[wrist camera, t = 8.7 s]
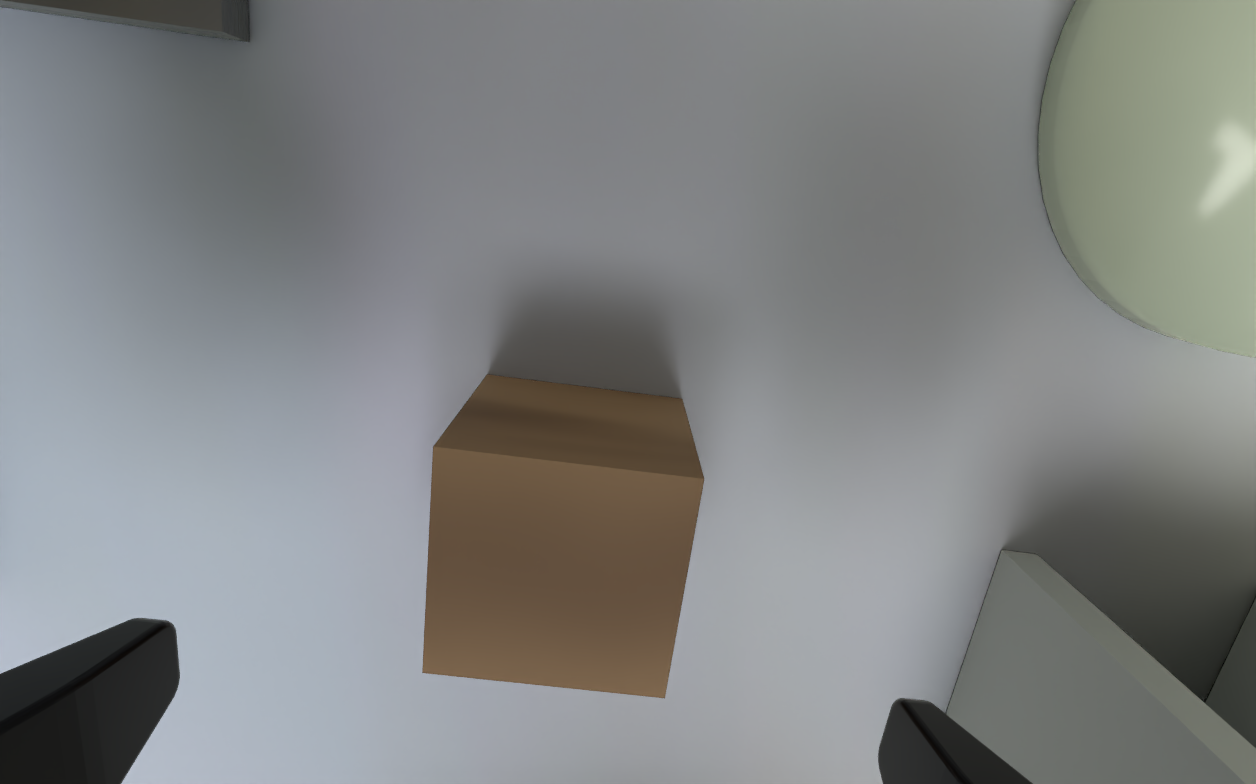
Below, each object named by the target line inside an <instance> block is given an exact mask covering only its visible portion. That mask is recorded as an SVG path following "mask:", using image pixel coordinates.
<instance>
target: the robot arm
mask: <svg viewBox="0 0 1256 784" xmlns="http://www.w3.org/2000/svg"><path fill="white" fill-rule="evenodd" d="M179 679H180V671H179V659H178V648H177V636H176V629H175V627H174V625H173V624H172V623H171V622H169V621H166V620H157V619H148V618H134V619H131V620H128V621H126V622H123V623H121V624H119V625H116V626H114V627H111V628H109V629H107V630H104V631H102V632H99V633H97V634H95V635H92V636H90V637H87V638H85V639H83V640H80V641H78V642H76V643H73V644H71V645H68V646H66V647H64V648H61V649H59V650H56V651H54V652H52V653H49V654H47V655H44V656H42V657H40V658H37V659H35V660H32V661H30V662H28V663H25V664H23V665H20V666H18V667H16V668H13V669H11V670H8V671H6V672H4V673H1V674H0V784H121V783H122V781H123V780H124V778H125V776H126V775H127V773H128V771H129V770H130V768H131V767H132V765H133V763H134V762H135V760H136V758H137V757H138V755H139V753H140V752H141V750H142V749H143V747H144V745H145V744H146V742H147V740H148V739H149V737H150V736H151V734H152V732H153V731H154V729H155V727H156V726H157V724H158V722H159V721H160V719H161V718H162V716H163V714H164V713H165V711H166V709H167V708H168V706H169V705H170V703H171V701H172V699H173V698H174V696H175V693H176V691H177V688H178V685H179ZM878 762H879V769H880V773H881V777H882V781H883V784H1033V783H1032V782H1030V781H1029V780H1028V779H1027V778H1025V777H1024V776H1023V775H1022V774H1020V773H1019V772H1018V771H1017V770H1015V769H1014V768H1013V767H1012V766H1010V765H1009V764H1008V763H1007V762H1005V761H1004V760H1003V759H1002V758H1000V757H999V756H998V755H997V754H995V753H994V752H993V751H992V750H990V749H989V748H988V747H987V746H985V745H984V744H983V743H981V742H980V741H979V740H978V739H976V738H975V737H974V736H973V735H971V734H970V733H969V732H968V731H966V730H965V729H964V728H963V727H961V726H960V725H959V724H958V723H956V722H955V721H954V720H953V719H951V718H950V717H949V716H948V715H946V714H945V713H944V712H943V711H941V710H940V709H939V708H938V707H936V706H935V705H934V704H932V703H931V702H928V701H925V700H916V699H906V698H900V699H897V700H896V701H895V702H894V703H893V705H892V707H891V710H890V713H889V717H888V720H887V723H886V726H885V730H884V733H883V736H882V740H881V743H880V747H879V753H878Z"/></svg>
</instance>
